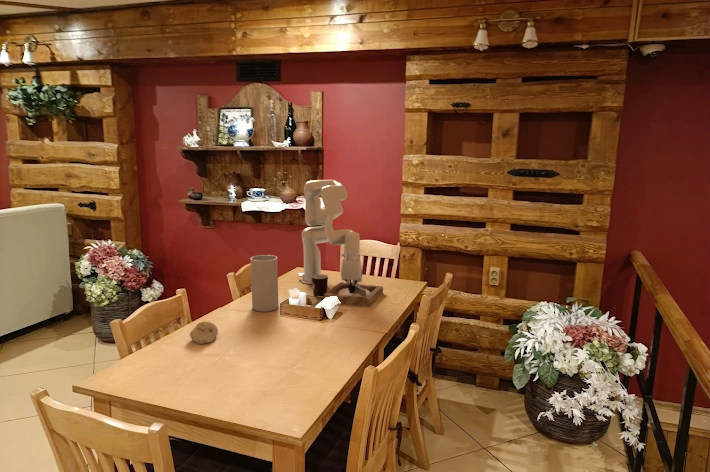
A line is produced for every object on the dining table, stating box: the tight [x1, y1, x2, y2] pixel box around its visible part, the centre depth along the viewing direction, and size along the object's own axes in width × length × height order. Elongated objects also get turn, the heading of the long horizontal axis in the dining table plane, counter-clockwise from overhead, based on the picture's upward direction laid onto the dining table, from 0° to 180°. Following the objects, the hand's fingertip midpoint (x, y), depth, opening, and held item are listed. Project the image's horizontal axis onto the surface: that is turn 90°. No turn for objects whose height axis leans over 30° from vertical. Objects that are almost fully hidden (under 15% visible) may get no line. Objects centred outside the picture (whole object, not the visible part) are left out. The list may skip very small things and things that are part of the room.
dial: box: [339, 282, 370, 297], centre depth 257 cm, size 21×16×6 cm
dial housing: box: [323, 281, 384, 308], centre depth 260 cm, size 24×24×4 cm
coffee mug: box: [312, 273, 329, 297], centre depth 266 cm, size 12×9×10 cm
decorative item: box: [189, 321, 219, 345], centre depth 205 cm, size 12×9×10 cm
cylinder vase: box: [250, 254, 279, 313], centre depth 242 cm, size 12×12×25 cm
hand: (351, 292), depth 254 cm, fingers closed
